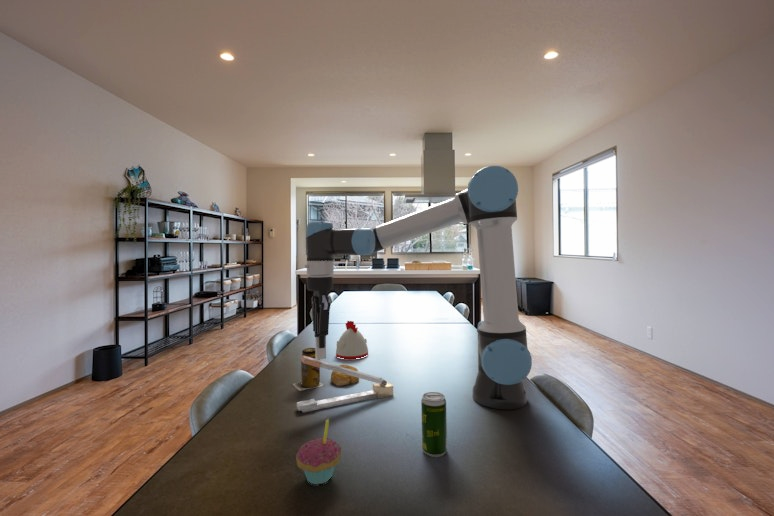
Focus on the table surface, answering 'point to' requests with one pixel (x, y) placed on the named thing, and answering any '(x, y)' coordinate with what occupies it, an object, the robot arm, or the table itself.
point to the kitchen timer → (351, 343)
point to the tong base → (347, 398)
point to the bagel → (343, 377)
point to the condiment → (309, 373)
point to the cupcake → (319, 458)
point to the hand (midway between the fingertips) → (320, 358)
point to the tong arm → (342, 370)
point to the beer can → (434, 424)
